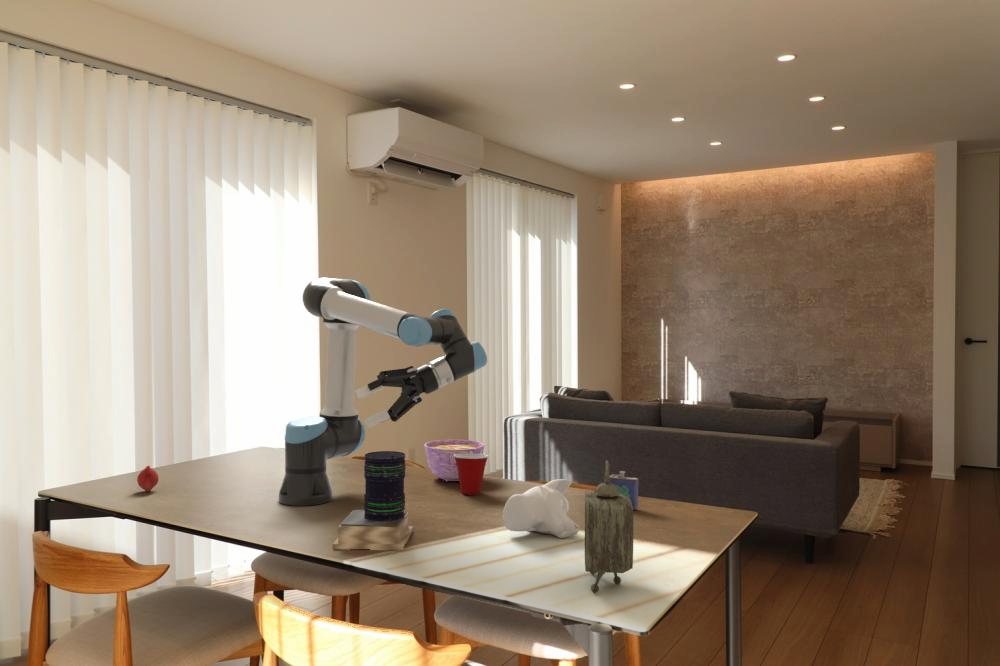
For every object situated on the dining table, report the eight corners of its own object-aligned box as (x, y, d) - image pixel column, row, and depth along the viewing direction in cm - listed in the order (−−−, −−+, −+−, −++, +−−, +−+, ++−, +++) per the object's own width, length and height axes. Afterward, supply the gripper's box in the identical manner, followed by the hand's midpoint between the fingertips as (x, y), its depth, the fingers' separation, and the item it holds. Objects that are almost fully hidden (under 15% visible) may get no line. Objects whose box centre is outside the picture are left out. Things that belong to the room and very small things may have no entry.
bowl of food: (488, 485, 241) (489, 449, 241) (426, 486, 238) (426, 450, 237) (480, 472, 260) (480, 439, 260) (422, 473, 257) (422, 440, 257)
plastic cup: (490, 489, 235) (490, 451, 234) (486, 497, 224) (486, 457, 224) (455, 488, 236) (456, 450, 235) (450, 496, 225) (450, 456, 225)
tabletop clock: (584, 571, 160) (585, 453, 159) (627, 572, 159) (629, 455, 159) (585, 596, 146) (587, 467, 145) (633, 598, 145) (634, 468, 144)
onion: (132, 492, 225) (132, 466, 225) (148, 488, 231) (148, 462, 231) (147, 494, 223) (147, 467, 223) (162, 490, 228) (162, 464, 228)
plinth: (332, 549, 173) (332, 525, 173) (349, 529, 189) (349, 508, 189) (401, 550, 172) (402, 527, 172) (413, 531, 188) (413, 509, 188)
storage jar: (355, 516, 181) (355, 454, 181) (387, 509, 188) (387, 449, 188) (381, 524, 174) (382, 460, 174) (413, 516, 182) (414, 454, 181)
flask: (638, 509, 212) (639, 471, 212) (636, 511, 210) (637, 473, 209) (606, 506, 216) (607, 468, 216) (604, 508, 213) (604, 470, 213)
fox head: (564, 519, 174) (604, 497, 190) (508, 484, 182) (551, 466, 198) (547, 568, 177) (588, 542, 194) (493, 531, 186) (537, 509, 202)
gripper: (435, 357, 193) (359, 392, 186) (443, 411, 212) (375, 445, 206) (422, 337, 197) (347, 372, 191) (431, 392, 216) (364, 425, 210)
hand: (361, 410), depth 198 cm, fingers open, 13 cm apart
